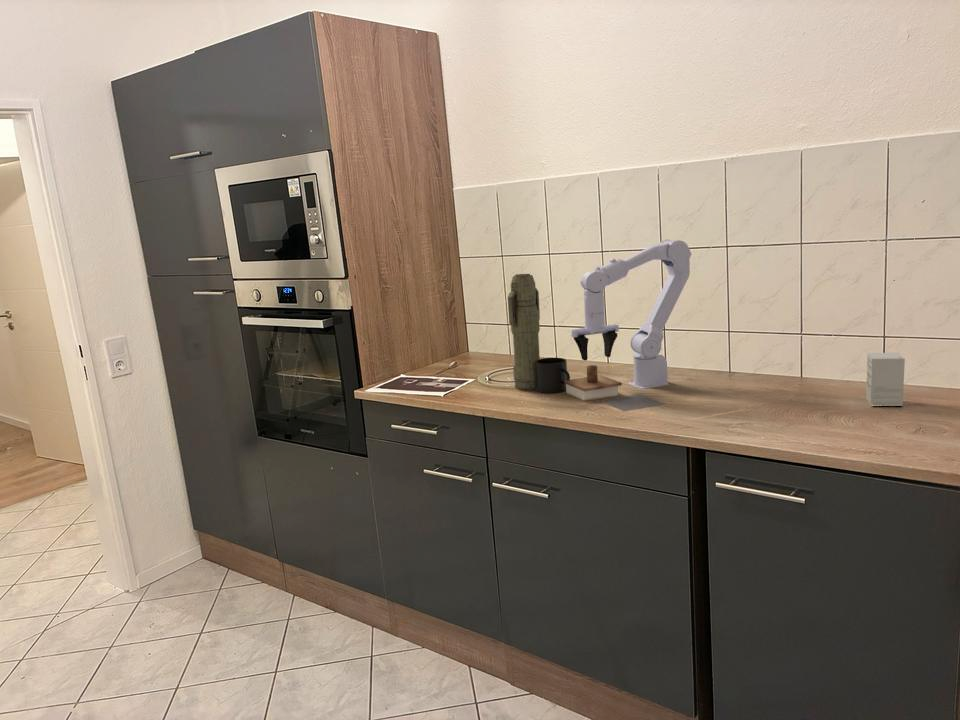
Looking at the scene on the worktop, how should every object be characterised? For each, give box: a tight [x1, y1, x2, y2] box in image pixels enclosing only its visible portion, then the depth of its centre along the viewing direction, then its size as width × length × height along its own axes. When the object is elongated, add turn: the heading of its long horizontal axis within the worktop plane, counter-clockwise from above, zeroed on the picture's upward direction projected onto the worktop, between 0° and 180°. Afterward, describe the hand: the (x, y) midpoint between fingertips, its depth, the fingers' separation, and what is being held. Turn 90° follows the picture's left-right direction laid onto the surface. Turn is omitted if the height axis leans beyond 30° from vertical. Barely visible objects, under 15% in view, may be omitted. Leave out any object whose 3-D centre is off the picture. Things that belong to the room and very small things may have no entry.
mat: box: [599, 393, 666, 412], centre depth 203 cm, size 13×13×1 cm
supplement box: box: [865, 352, 906, 407], centre depth 186 cm, size 7×7×13 cm
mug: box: [535, 357, 571, 394], centre depth 222 cm, size 9×12×9 cm
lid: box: [564, 364, 623, 392], centre depth 212 cm, size 12×12×5 cm
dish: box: [565, 384, 619, 402], centre depth 214 cm, size 11×11×4 cm
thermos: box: [507, 273, 541, 391], centre depth 226 cm, size 9×12×35 cm
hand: (596, 358), depth 217 cm, fingers open, 7 cm apart
